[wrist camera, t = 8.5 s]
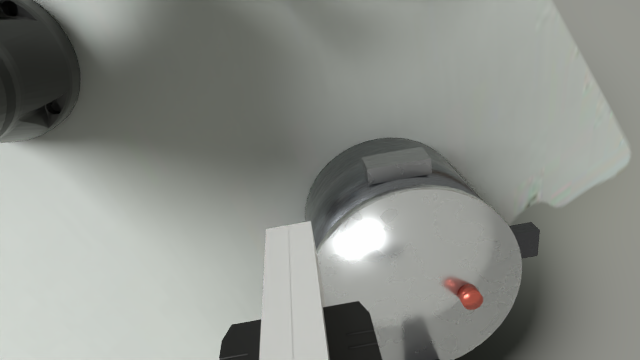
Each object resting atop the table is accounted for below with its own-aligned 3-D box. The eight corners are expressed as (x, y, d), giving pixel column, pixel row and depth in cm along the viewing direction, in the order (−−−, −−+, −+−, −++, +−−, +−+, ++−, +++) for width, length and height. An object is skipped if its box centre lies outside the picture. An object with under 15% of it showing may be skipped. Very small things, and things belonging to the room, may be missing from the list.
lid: (334, 422, 49) (337, 443, 47) (290, 206, 39) (290, 219, 36) (513, 389, 49) (524, 409, 47) (518, 166, 39) (533, 176, 36)
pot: (290, 291, 59) (293, 363, 48) (256, 146, 49) (250, 194, 38) (488, 256, 59) (535, 319, 48) (492, 105, 49) (552, 141, 39)
